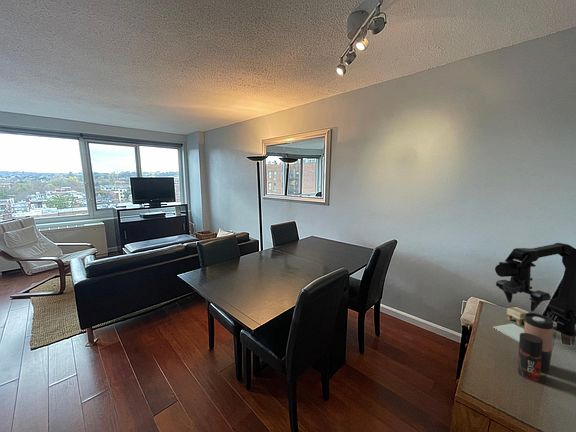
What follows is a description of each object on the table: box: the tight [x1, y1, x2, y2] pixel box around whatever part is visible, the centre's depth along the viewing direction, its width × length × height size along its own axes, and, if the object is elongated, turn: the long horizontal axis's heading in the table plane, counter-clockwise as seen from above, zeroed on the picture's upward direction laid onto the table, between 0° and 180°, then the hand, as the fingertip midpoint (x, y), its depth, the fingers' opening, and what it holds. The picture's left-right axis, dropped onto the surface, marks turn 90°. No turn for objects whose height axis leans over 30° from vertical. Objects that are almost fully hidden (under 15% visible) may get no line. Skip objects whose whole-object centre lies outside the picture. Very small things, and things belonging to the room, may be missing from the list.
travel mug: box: [523, 312, 554, 373], centre depth 91 cm, size 8×8×20 cm
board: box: [492, 323, 524, 343], centre depth 113 cm, size 12×12×1 cm
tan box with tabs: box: [506, 306, 530, 326], centre depth 123 cm, size 6×6×6 cm
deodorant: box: [517, 333, 543, 382], centre depth 87 cm, size 6×6×15 cm
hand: (520, 306), depth 112 cm, fingers open, 9 cm apart
